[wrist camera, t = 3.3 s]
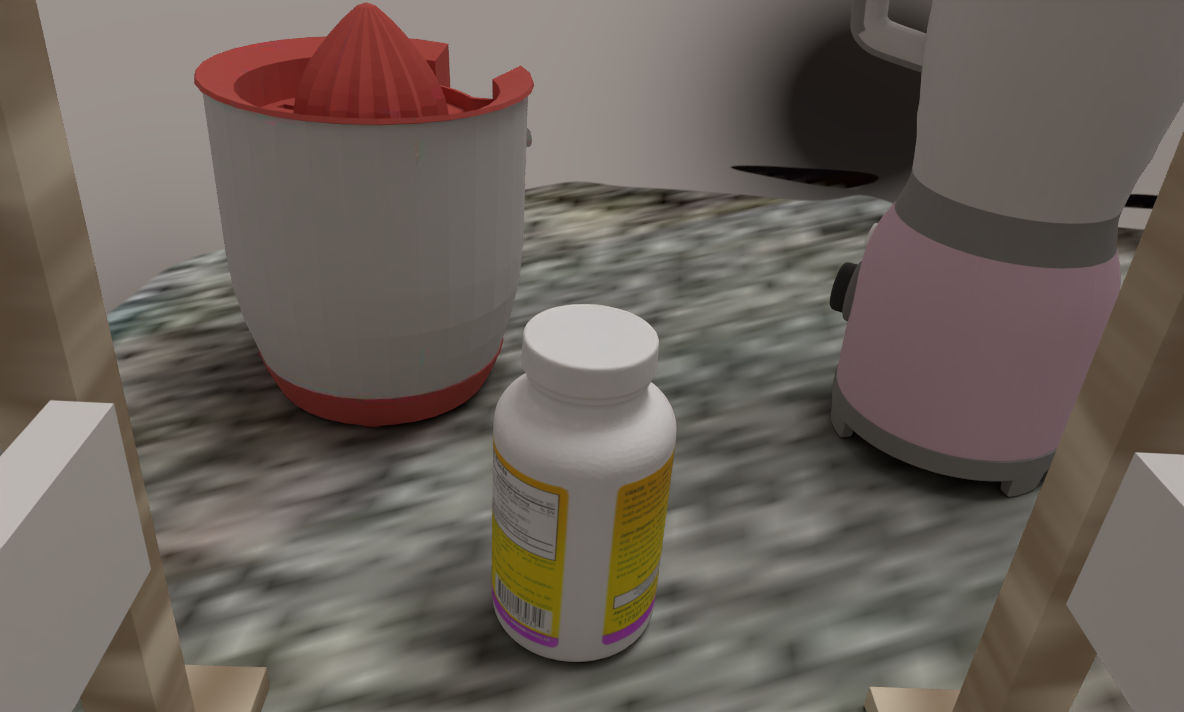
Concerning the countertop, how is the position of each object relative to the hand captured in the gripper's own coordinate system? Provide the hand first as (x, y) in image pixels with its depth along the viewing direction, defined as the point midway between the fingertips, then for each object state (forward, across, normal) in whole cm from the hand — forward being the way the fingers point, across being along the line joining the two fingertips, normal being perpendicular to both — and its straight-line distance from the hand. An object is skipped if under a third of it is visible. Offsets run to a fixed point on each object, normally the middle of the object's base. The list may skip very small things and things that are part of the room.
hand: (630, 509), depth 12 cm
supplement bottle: (+18, 0, -20) cm, 27 cm away
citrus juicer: (+36, -9, -20) cm, 42 cm away
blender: (+33, +20, -20) cm, 43 cm away
